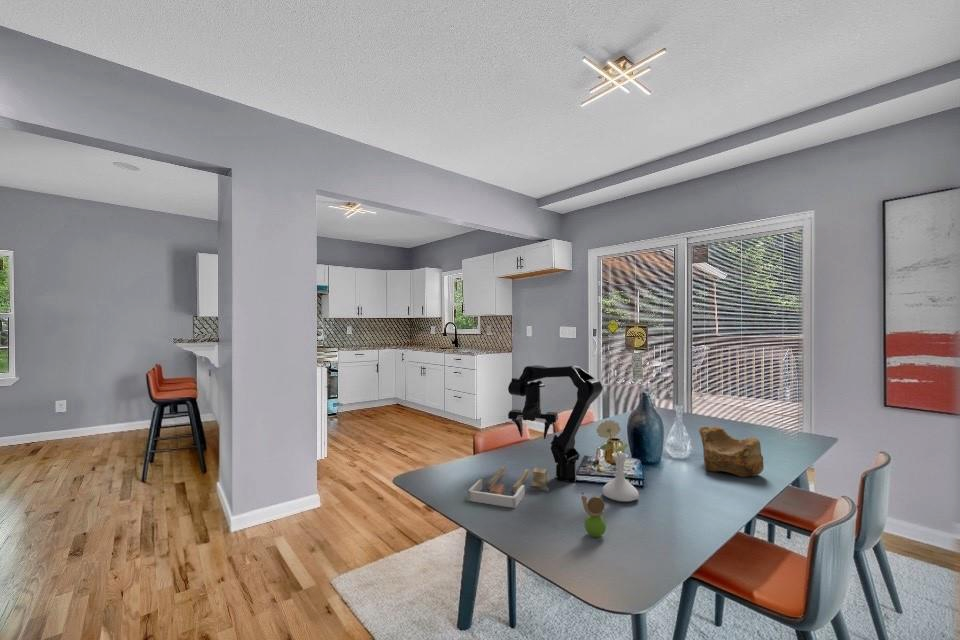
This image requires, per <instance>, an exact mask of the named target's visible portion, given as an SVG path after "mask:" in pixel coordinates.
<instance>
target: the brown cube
mask: <svg viewBox="0 0 960 640" xmlns="http://www.w3.org/2000/svg"><path fill="white" fill-rule="evenodd" d="M493 487H496V488H502V495H505V484H499V483H496V484H495V485H494V486H493ZM493 487H492V488H493Z"/></svg>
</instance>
